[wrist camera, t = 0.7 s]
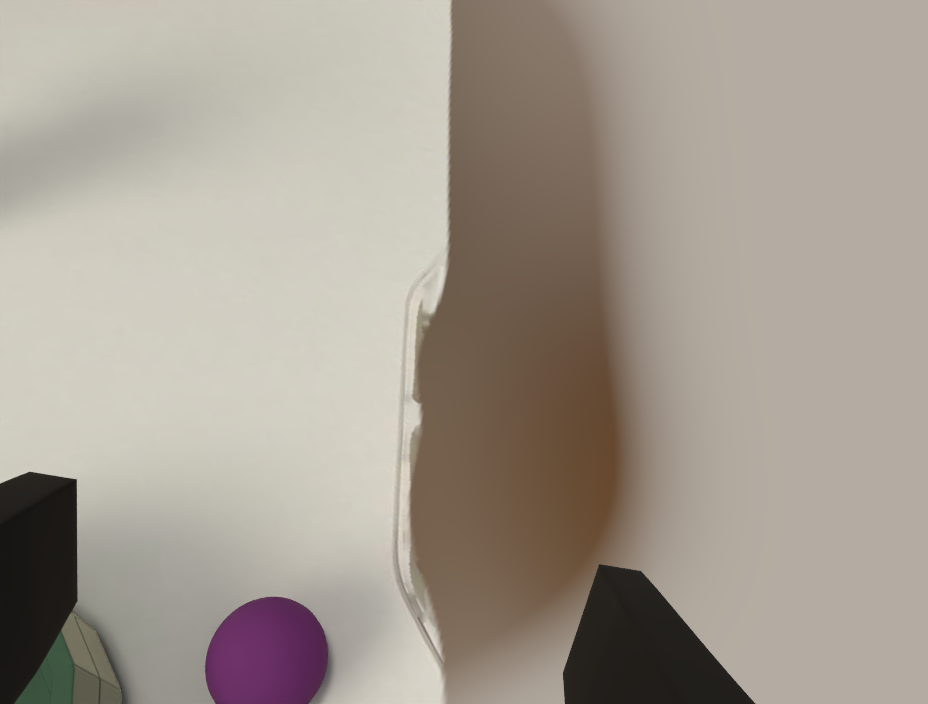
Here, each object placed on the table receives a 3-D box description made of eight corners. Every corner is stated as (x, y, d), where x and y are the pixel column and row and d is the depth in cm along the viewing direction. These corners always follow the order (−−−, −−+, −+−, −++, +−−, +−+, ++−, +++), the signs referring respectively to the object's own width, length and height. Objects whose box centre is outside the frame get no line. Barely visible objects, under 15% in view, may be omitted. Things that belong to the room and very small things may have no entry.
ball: (315, 742, 24) (303, 727, 20) (201, 722, 24) (171, 703, 20) (343, 623, 26) (336, 592, 23) (240, 605, 26) (219, 572, 23)
